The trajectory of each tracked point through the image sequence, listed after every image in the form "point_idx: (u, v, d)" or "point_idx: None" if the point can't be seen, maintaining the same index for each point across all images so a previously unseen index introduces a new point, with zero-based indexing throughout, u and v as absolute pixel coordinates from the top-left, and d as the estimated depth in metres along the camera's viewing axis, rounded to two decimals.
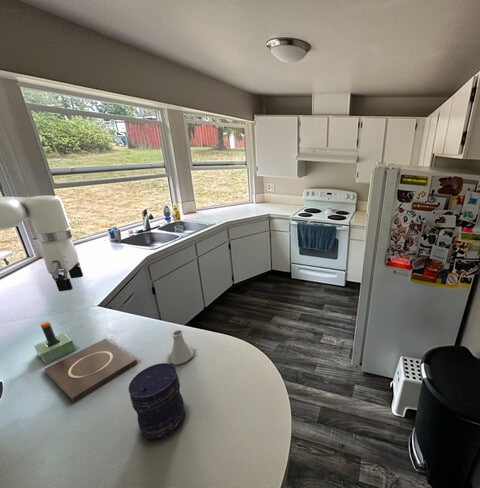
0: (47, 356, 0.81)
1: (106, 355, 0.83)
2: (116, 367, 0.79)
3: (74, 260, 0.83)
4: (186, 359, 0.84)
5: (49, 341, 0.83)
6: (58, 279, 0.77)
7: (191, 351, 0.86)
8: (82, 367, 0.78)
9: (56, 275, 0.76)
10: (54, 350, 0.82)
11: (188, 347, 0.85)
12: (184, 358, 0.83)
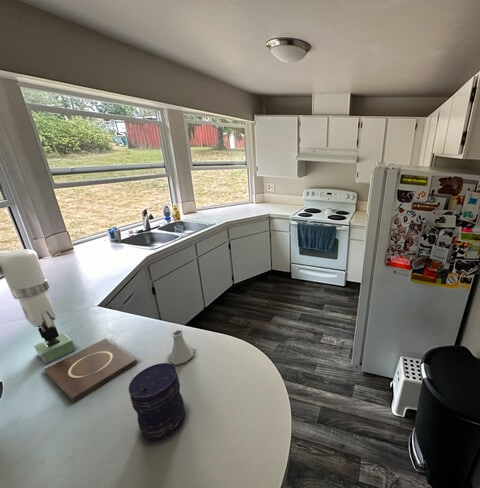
0: (47, 356, 0.81)
1: (106, 355, 0.83)
2: (116, 367, 0.79)
3: None
4: (186, 359, 0.84)
5: (49, 341, 0.83)
6: (48, 328, 0.80)
7: (191, 351, 0.86)
8: (82, 367, 0.78)
9: (51, 326, 0.80)
10: (54, 350, 0.82)
11: (188, 347, 0.85)
12: (184, 358, 0.83)
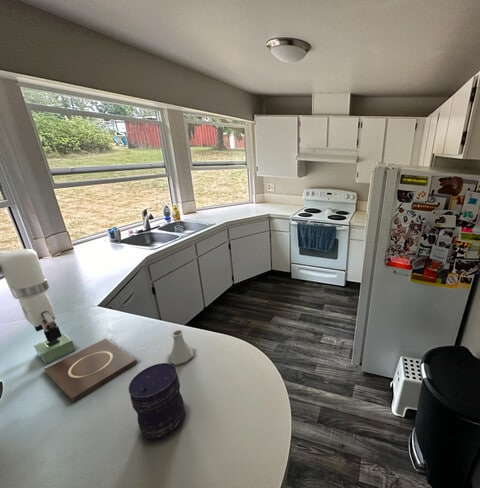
0: (47, 356, 0.81)
1: (106, 355, 0.83)
2: (116, 367, 0.79)
3: None
4: (186, 359, 0.84)
5: (50, 341, 0.83)
6: (51, 328, 0.78)
7: (191, 351, 0.86)
8: (82, 367, 0.78)
9: (53, 324, 0.77)
10: (54, 350, 0.82)
11: (188, 347, 0.85)
12: (184, 358, 0.83)
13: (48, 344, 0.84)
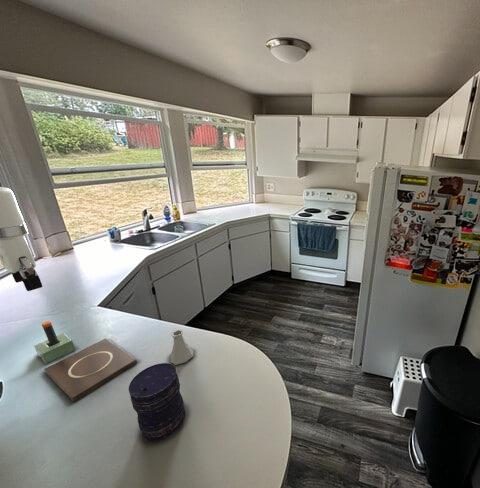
0: (47, 356, 0.81)
1: (106, 355, 0.83)
2: (116, 367, 0.79)
3: None
4: (186, 359, 0.84)
5: (50, 341, 0.83)
6: (30, 276, 0.72)
7: (191, 351, 0.86)
8: (82, 367, 0.78)
9: (32, 270, 0.71)
10: (54, 350, 0.82)
11: (188, 347, 0.85)
12: (184, 358, 0.83)
13: (48, 344, 0.84)
